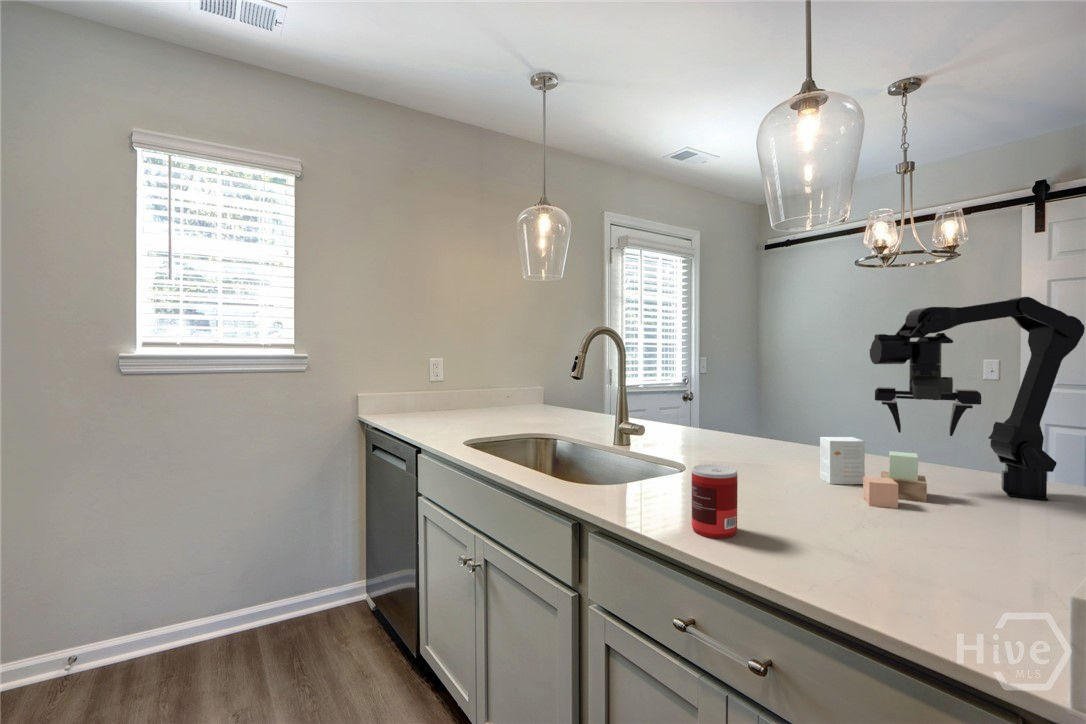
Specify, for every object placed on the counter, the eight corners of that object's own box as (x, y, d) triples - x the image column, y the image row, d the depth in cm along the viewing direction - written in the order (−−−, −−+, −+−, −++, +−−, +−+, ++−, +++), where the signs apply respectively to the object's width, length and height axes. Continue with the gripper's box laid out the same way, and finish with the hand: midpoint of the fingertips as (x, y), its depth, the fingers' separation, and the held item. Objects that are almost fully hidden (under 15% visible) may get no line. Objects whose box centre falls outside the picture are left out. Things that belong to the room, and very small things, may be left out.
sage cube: (916, 476, 113) (916, 453, 113) (917, 481, 109) (918, 457, 109) (889, 473, 116) (889, 451, 116) (889, 477, 112) (889, 455, 112)
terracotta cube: (890, 501, 108) (890, 478, 108) (898, 508, 103) (898, 484, 103) (863, 499, 110) (863, 476, 110) (869, 506, 105) (869, 482, 105)
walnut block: (924, 493, 114) (924, 475, 113) (926, 502, 107) (926, 483, 107) (881, 488, 118) (881, 471, 118) (880, 496, 111) (880, 478, 111)
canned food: (736, 526, 93) (736, 465, 93) (737, 541, 86) (738, 476, 86) (692, 521, 96) (692, 463, 96) (690, 536, 88) (690, 472, 88)
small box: (853, 479, 127) (853, 436, 126) (865, 485, 121) (865, 440, 121) (819, 478, 127) (819, 436, 127) (829, 484, 122) (829, 440, 122)
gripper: (874, 364, 113) (874, 435, 113) (985, 365, 103) (984, 443, 103) (875, 363, 122) (875, 429, 123) (977, 364, 112) (977, 435, 112)
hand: (924, 434), depth 115 cm, fingers open, 9 cm apart
